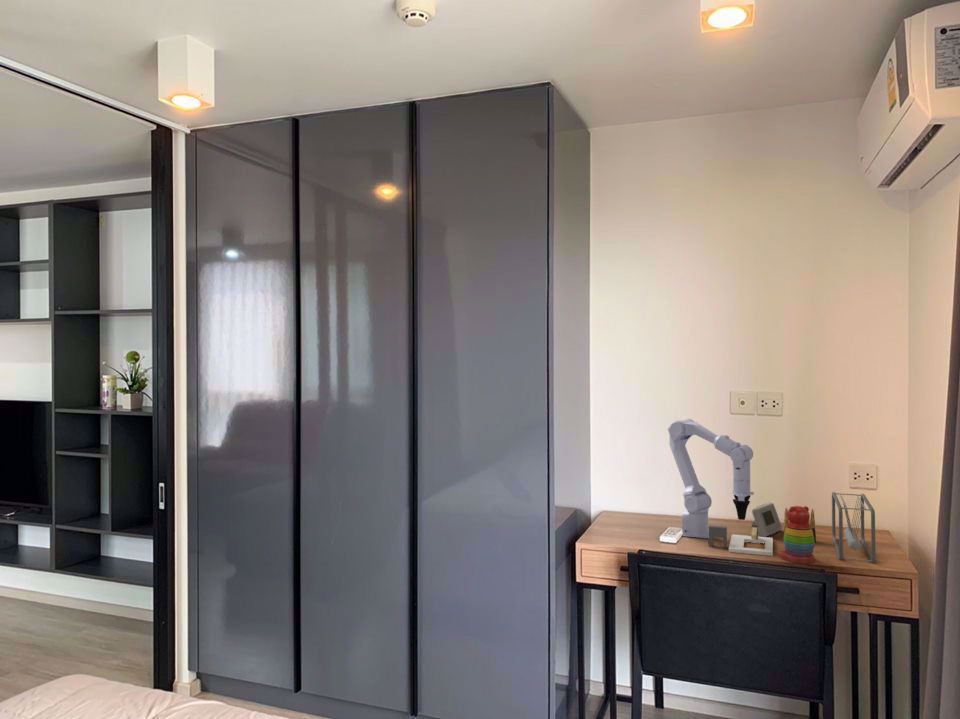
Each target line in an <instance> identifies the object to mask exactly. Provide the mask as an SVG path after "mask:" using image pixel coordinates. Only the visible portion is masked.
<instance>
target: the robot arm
mask: <svg viewBox="0 0 960 719" xmlns="http://www.w3.org/2000/svg"><path fill="white" fill-rule="evenodd" d="M667 431H668V434H669V447H670V450H671V453H672V455H673V459H674V461H675V464H676V467H677V470H678V472H679V474H680V477H681V480H682V482H683V486H684V492H683V494H682V496H683V499H684V502H683V503H684V504H683V505H684V507H685V509H686V510H683V511H682V515H681V516H682V517H681V519H682V520H681V530H682V531H681V533H682V532H683V536H682V537H688V538H689V537H690V538H700V539H709V509H710V508H711V506H712V502H713V500H712V498H711V496H710V494H709V493H708V492H707V490H706V488H705V487H704V486H702V485H701V484H700V482H699V480H698V476H697V474H696V472H695V468H694V466H693V462H692V460H691V458H690V455H689V453H688V450H687V446H686V444H687V442H688V441H689V440H690V438H691V437H692V436H697V437H698V438H701V439H703V440H706V442H707V441H708V442H710V443H711V444H713V445H714V448H715V449H716V450H717V451H720V452H721V453H723V454H724V455H727V456H728V457H730V460H731V462H732V469H733V470H732V472H733V474H732V476H733V478H732V479H733V481H732V483H733V484H732V485H733V487H732V488H733V490H732V494H733V497H734V498H732V502H733V504H734V506H735V509H736V514H737V519H738V520H739V521H741V520H742V521H744V520H746V516H747V509H748V507H749V505H750V504H751V500H750V499H751V496H753V495H754V494H755V492H754V491H751V460H752V459H753V457H754V451H753V449H752V448H751V447H750V446H749V445H747V444H741V443H740V442H739V441H735V440H733V439H732V438H730V436H729V435H724V434H721V435H718V434H716V433H715V432H713V431H711V430H709V429H708V428H706V427H704V426H703V425H702V424H700V423H699V422H698V421H696V420H695V421H694V419H692V418H687V419H680V420H678V419H677V420H673V421H672V422H670V424H669V426H668V428H667Z"/></svg>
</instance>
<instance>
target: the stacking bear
mask: <svg viewBox="0 0 960 719" xmlns="http://www.w3.org/2000/svg"><path fill="white" fill-rule="evenodd" d="M787 510H788V512H787V517H788V519H789V521H790V522H789V523H788V524H787V526H786V528H785V533H784V532H783V538H784V539H783V546H784V549H785V550H780V551H779V552H778V555H777V556H778V557H779V558H781V560H785V561H786V562H787V561H788V562H790V563H795V564H796V563H798V564H812V563H813V562H815V555H814V554H813V552H814V548H815V545H816V544H815V543H816V542H815V541H814V536H813V531H812V529H811V527H810V525H809V524H807V523H808V521H809V520H810V519H811V513H810V512H809V511H810V508H809V507H808V506H800V505H795V506H790V507H789V509H787Z"/></svg>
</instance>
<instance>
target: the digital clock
mask: <svg viewBox="0 0 960 719" xmlns="http://www.w3.org/2000/svg"><path fill="white" fill-rule="evenodd" d="M751 513H752V517H753V519H754V520H753V521H752V522H751V525H752V524H758V534H759V535H758V536H759V537H767V536H769V535H771V536H773V535H775V534H777V533H778V532H780V531H782V529H783V527H782V523H781V520H780V518H779V515H778V513H777V510H776V507H775V504H774V503H772V502H768V503H764V504H761V505H758V506H756V507H755V508H753V509H752V510H751ZM776 532H777V533H776ZM774 533H775V534H774ZM772 534H773V535H772ZM769 537H770V536H769Z"/></svg>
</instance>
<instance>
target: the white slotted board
mask: <svg viewBox="0 0 960 719" xmlns="http://www.w3.org/2000/svg"><path fill="white" fill-rule="evenodd" d="M730 537H731V538H730V542H729V545H728V552H729V553H737V554H747V555H756V556H757V555H758V556H770V557H773V556H774V555H773V554H774V551H773V550H774V549H773V548H774V547H773V546H774V538H773V537H761V536H759V535H758V524H752V523H751V535H743V534H733V533H732V534H731V536H730ZM748 542H751V544H760V543H763V544H762V545H764V549H763V548H752V547H745V543H748ZM764 543H765V544H764Z"/></svg>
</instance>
